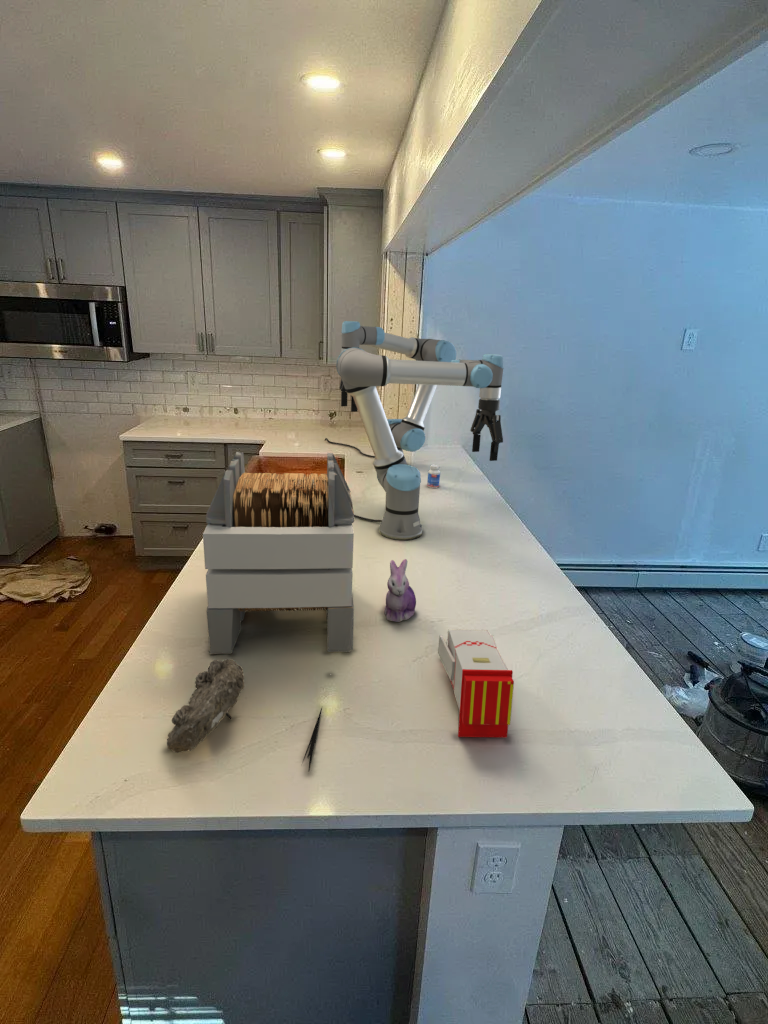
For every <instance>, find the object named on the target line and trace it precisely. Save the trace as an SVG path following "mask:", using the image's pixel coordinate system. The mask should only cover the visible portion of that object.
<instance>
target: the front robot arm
mask: <svg viewBox="0 0 768 1024" xmlns="http://www.w3.org/2000/svg"><path fill="white" fill-rule="evenodd" d="M335 367H336V371H337V374H338V375H339V377H340V380H341V379H342V381H343V384H344V387H345V389H346V392H347V394H348V395H349V396H350V397H351V396H353V398H354V401H355V404H356V406H357V409H358V411H357V412H358V414H359V417H360V420H361V423H362V425H363V428H364V430H365V433H366V436H367V439H368V441H369V444H370V447H371V450H372V453H373V456H375V458H374V460H373V463H372V465H373V467H374V470H375V472H376V479H377V481H378V483H379V485H380V486H381V487H382V489H383V491H384V492H385V504H384V505H385V507H384V508H385V509H384V513H383V515H382V519H373V518H368V517H363V516H360V515H356V514H354V518H356V519H360V520H363V521H368V522H373V523H379V526H378V533H379V534H380V535H381V536H382V537H385V538H387V539H389V540H395V541H410V540H415V539H418V538H420V537H421V536H422V535H423V525H422V524H421V518H420V515H419V507H420V506H419V505H420V494H421V493H420V492H421V483H422V480H421V479H422V478H421V471H420V470H419V469H418V468H417V467H415V466H412V465H410V464H408V463H407V459H406V457H405V454H404V451H403V452H401V451H399V450H398V449H397V446H396V444H395V441H394V438H393V435H392V432H391V429H390V426H389V424H388V421H387V419H388V418H387V415H386V413H385V409H384V407H383V404H382V401H381V398H380V395H379V392H378V390H377V387H386V386H387V385H388V384H393V385H394V384H395V385H397V384H399V385H418V384H422V385H437V386H453V387H473V388H475V389H479V393H478V396H479V399H478V407H477V409H476V411H475V414H474V419H473V421H472V423H471V427H470V430H469V431H470V432H471V433H472V436H473V437H472V448H471V452H472V453H479V452H480V446H481V436H482V430H483V429H484V427H485V426H486V427H487V428H488V429H489V431H488V432H489V435H490V438H491V441H490V450H489V461H490V462H496V461H498V453H499V448H500V447H499V446H500V444H501V443H504V436H503V428H502V421H501V418H502V416H501V414H497V413H496V412H497V411H499V410H500V405H501V400H500V398H501V392H502V383H503V374H504V369H505V368H504V367H505V358H504V356H503V355H502V354H494V353H485V354H483V355H482V358H481V359H456V360H452V361H451V362H436V361H418V360H415V359H397V358H396V359H395V358H394V359H393V358H389V357H388V355H381V354H375V353H374V354H373V353H370V352H368V351H366V350H364V349H362V348H361V347H359V348H357V347H352V348H348V349H346V350H344V351H343V352H342V353H341V352H340V354H339V355H338V357H337V359H336V365H335Z"/></svg>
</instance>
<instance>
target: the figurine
mask: <svg viewBox="0 0 768 1024" xmlns="http://www.w3.org/2000/svg"><path fill="white" fill-rule="evenodd" d="M407 567H408V559H406V558H404V559H403V560H402V561H401V563H400V565H399V566H398V565H397V563H396V562H395V561H394V560H393V559H391V560H390V561H389V570H390V576H389V578H388V579H387V589H388V591H387V592H386V594H385V595H386V596H385V607H384V615H385V616H386V620H387V621H391V622H395V623H400V622H402V621H406V620H409V619H410V618H411V617H413V616H414V615H415V610H416V606H417V597H416V593H415V591H414V590H413V587H411V586H410V582H409V579H408V577H407V574H406V571H407Z"/></svg>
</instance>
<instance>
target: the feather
mask: <svg viewBox="0 0 768 1024" xmlns="http://www.w3.org/2000/svg"><path fill="white" fill-rule="evenodd" d="M329 675H330V676H331V675H332V674H331V673H330V674H329ZM322 710H323V707H321V708H320V710H319V713H318V716H317V719H316V723H315V725H314V728H313V731H312V733H311V737H310V739H309V742H308V745H307V748H306V751H305V754H304V757H303V760H302V763H301V767H302V765H303V763H304V761H305V758H308V759H309V760H308V762H307V763H308V764H307V766H308V771H310V770H311V766H312V765H311V764H312V760H313V757H315V756H314V755H315V751H316V749H315V746H317V739H318V733H319V729H320V722H321V717H322V712H323V711H322ZM313 754H314V755H313ZM306 755H307V757H306Z"/></svg>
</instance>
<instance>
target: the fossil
mask: <svg viewBox="0 0 768 1024" xmlns="http://www.w3.org/2000/svg"><path fill="white" fill-rule="evenodd" d="M243 670H244V669H243V667H242V665H240V664H237V662H236V661H235V660H234V659H232V658H231V659H227V658H226V659H224V660H223V661H222V660H217V659H212V660H211V661H210V663H209V665H208V666H207V671H201V672H199V673H198V674H197V675H196V676H195V680H194V684H195V685H194V687H195V689H194V690H193V693H192V694H191V697H190V698H189V700H188V704H184V705H182V706H181V707H180V709H177V710H176V711H175V713H174V715H173V716H172V718H171V723H172V724H173V727H172V730H171V731H170V732H168V734H167V738H166V741H167V742H166V745H167V749H168V750H169V751H173V752H174V753H176V754H178V753H182V752H188V751H189V752H192V751H193V750H195V748H196V747H197V746H199V744H200V743H201V742H203V741H204V740H205V739H206V738H207V737H208V736H209V735H210V734H211V733H212V732H214V730H215V729H217V727H218V726H219V724H220V722H221V721H222V720H223V719H224V718H225V716H226V717H227V719H229V720H233V717H232V715H230V714H229V710H230V709H231V708H234V706H235V704H236V703H237V702H238V699H239V697H240V695H241V693H242V691H243V690H245V689H244V688H245V675H244V671H243Z"/></svg>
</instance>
